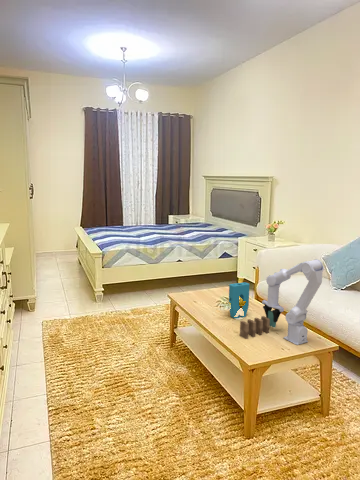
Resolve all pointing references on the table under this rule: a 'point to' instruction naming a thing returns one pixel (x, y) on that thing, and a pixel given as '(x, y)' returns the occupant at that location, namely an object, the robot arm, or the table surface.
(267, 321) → the walnut domino
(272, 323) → the teal domino
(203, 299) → the table surface
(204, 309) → the table surface
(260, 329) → the walnut domino
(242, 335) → the walnut domino
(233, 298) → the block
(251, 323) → the walnut domino
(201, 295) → the table surface
